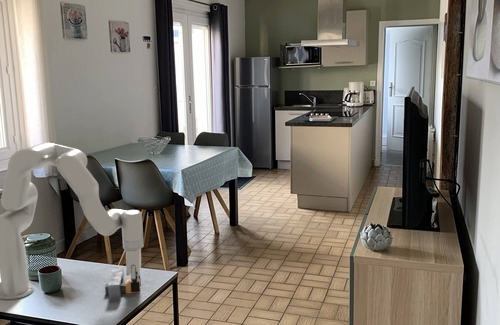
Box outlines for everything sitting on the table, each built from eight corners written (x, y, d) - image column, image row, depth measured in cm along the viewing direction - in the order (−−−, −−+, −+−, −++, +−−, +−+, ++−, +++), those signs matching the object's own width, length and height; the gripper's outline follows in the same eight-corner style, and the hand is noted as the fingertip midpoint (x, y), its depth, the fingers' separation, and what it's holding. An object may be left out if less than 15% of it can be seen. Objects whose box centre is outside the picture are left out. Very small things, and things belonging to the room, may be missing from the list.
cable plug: (105, 295, 187) (104, 285, 186) (106, 290, 191) (106, 280, 190) (139, 292, 189) (139, 282, 188) (140, 288, 193) (139, 278, 192)
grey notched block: (109, 302, 182) (107, 285, 180) (114, 284, 197) (112, 268, 196) (120, 301, 182) (119, 284, 181) (124, 283, 198) (123, 267, 197)
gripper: (125, 236, 195) (127, 280, 198) (120, 251, 179) (123, 299, 182) (144, 235, 196) (147, 279, 199) (142, 250, 180) (144, 297, 183)
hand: (136, 288), depth 191 cm, fingers closed on cable plug, 4 cm apart
